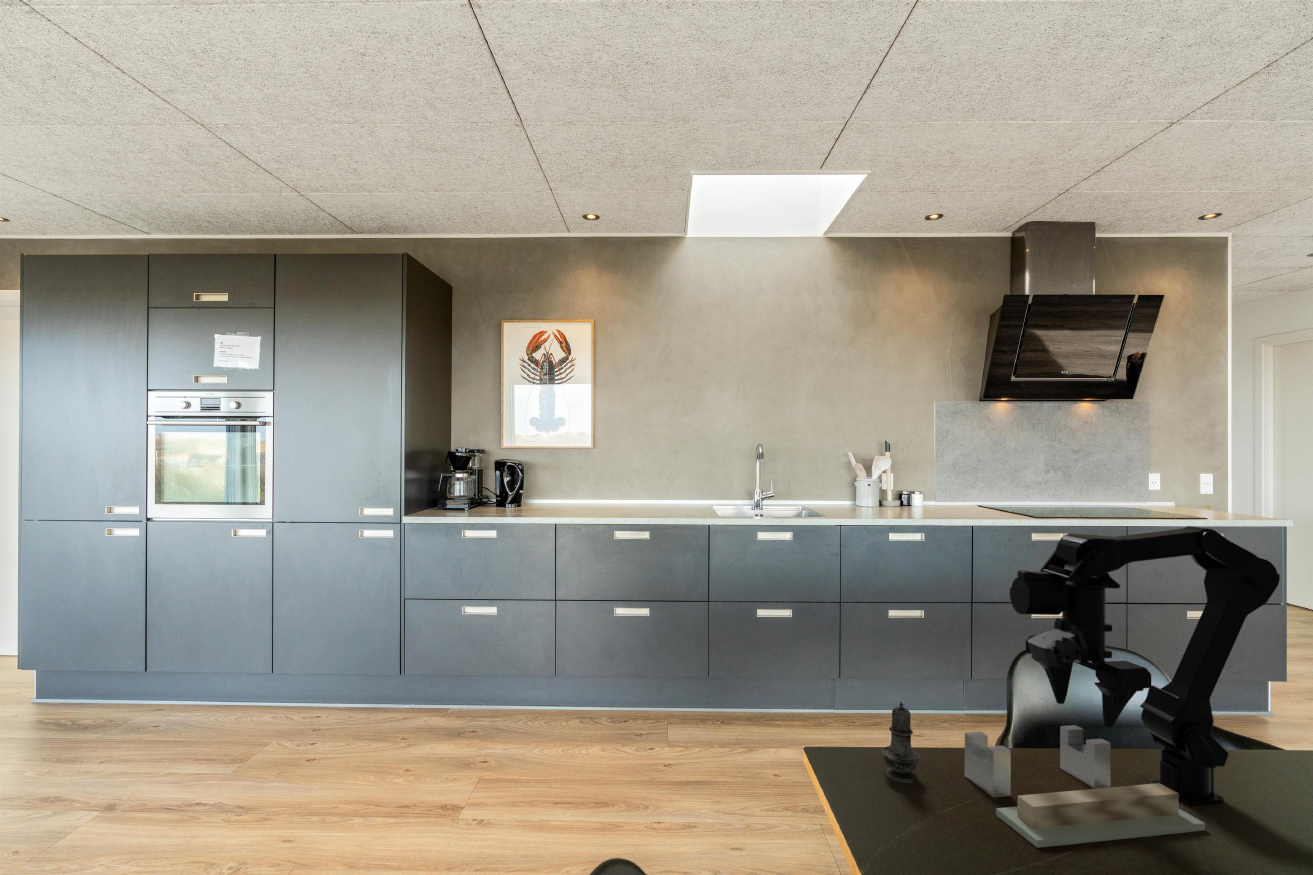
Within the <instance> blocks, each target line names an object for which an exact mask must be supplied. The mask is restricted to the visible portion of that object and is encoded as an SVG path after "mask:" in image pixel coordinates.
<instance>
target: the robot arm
mask: <svg viewBox="0 0 1313 875" xmlns="http://www.w3.org/2000/svg"><path fill="white" fill-rule="evenodd" d="M1185 556H1190V557H1191V559H1192V560H1193V562H1194V563H1195V564H1196V565H1198V566H1199V567H1201V569H1202V570H1204V571H1205V576H1204V579H1203V586H1204V592H1205V595H1206V603H1205V606H1204V609H1203V611H1202V613H1201V615H1200V617H1199V620H1198V622H1197V624H1196V625H1195V628H1194V631H1193V632H1192V634H1191V637H1190V640H1188V641H1189V642H1188V643H1187V645H1186V648H1185V651H1184V652H1183V655H1182V657H1181V659H1180V662H1179V663H1178V666H1177V669H1176V671H1175V673H1174V675H1173V676H1172V679H1171V681H1170V682H1169V683H1168V684H1166V685H1164V686H1163V687H1161V688H1160V687H1158V686H1155V685H1152V673H1151V672H1150V670H1148V668H1147V667H1145V666H1141V665H1139V664H1136V663H1133V662H1131V661H1128V660H1112V661H1111V660H1110V661H1107V660H1105V659H1112V658H1113V651H1111V650H1109V649H1106V633H1109V632H1113V624H1110V623H1107V622H1106V589H1120V588H1121V584H1120V583H1118V582H1117V581H1116V580H1114V579H1113V577H1111V575H1110V573H1111V572H1115V571H1117V570H1120V569H1121V568H1123V567H1124V566H1125V565H1128V564H1132V563H1135V562H1136V563H1137V562H1144V561H1152V560H1153V561H1154V560H1159V559H1160V560H1161V559H1168V558H1169V559H1170V558H1176V557H1177V558H1178V557H1185ZM1280 578H1281V576H1280V574H1279V573H1278V571H1277V568H1276V566H1275V565H1274V564H1273V563H1272V562H1271V561H1269V560H1268V559H1264V558H1261V557H1259V556H1257V555H1256V554H1254V553H1253V552H1251V551H1249V550H1248V549H1246V548H1244V547H1242V546H1240V545H1238V544H1236V543H1235V542H1233V541H1231V540H1229V539H1227V537H1225V536H1223V534H1221V533H1220V532H1217V531H1216V530H1215V529H1212V528H1208V527H1207V528H1205V527H1200V526H1188V525H1187V526H1185V527H1183V528H1175V529H1170V530H1161V531H1160V530H1159V531H1153V532H1143V533H1142V532H1141V533H1135V534H1128V535H1120V536H1118V535H1117V536H1111V535H1109V536H1107V535H1097V534H1083V533H1068V534H1064V535H1062V536H1061V537H1060V540H1059V541H1058V542H1057V544H1056V547H1055V550H1054V551H1053V553H1052V554H1051V556H1049V558H1048V559H1047V560H1046V562H1045V563H1044V565H1043V566H1042V567H1041V568H1040V570H1039V571H1032V570H1027V569H1026V570H1023V569H1020V570H1019V569H1018V570H1017V577H1016V578H1014V580H1013V581H1012V583H1011V587H1010V588H1009V598H1010V603H1011V605H1012V608H1013V609H1014V610H1015V612H1016V613H1017V614H1019V615H1037V616H1038V615H1040V616H1041V615H1042V616H1045V615H1047V616H1049V615H1050V616H1059V615H1060V614H1061V613H1062V616H1061V617H1059V618H1058V617H1056V618H1055V620H1054V623H1053V624H1054V625H1053V629H1051V630H1048V631H1047V630H1046V631H1044V632H1041V633H1039V634H1035V635H1032V634H1031V635H1029V636H1028V637H1027V639H1025V652H1026V653H1028V654H1030V656H1031V657H1030V658H1031V659H1033V661H1036V662H1037V663H1038V664H1039V665H1040V666H1041V667H1042V668H1043V669H1044V671H1045V674H1046V677H1047V679H1048V681H1049V684H1050V687H1051V690H1052V692H1053V696H1054V698H1055V701H1056V702H1055V703H1057V704H1059V705H1064V704H1065V702H1066V699H1067V696H1068V690H1069V685H1070V682H1071V675H1072V671H1073V665H1074V664H1075V663H1076V664H1078V665H1080V666H1083V667H1085V668H1088V669H1090V670H1093V671H1095V678H1096V679H1097V680H1098V682H1097V681H1095V682H1094V685H1095V686H1096V687H1097V689H1098V690H1099V691H1100V693H1101V704H1102V707H1101V708H1102V717H1103V719H1102V720H1103V725H1104V727H1106V728H1112V727H1114V725H1115V723H1116V721H1117V720H1118V719H1119V717H1120V715H1121V714H1122V712H1123V710H1124V709H1125V707H1126V706H1127V705H1128V703H1129V701H1130V700H1131V699H1132V698H1133V697H1134V695H1136V693H1137V692H1143V691H1144V689H1148V690H1147V694H1146V697H1145V699H1144V700H1143V702H1142V703H1141V704H1140V705H1139V707H1140V709H1142V710H1141V715H1140V716H1141V717H1140V719H1141V720H1142V723H1143V725H1144V727H1145V729H1146V730H1147V731H1148V732H1149V735H1150V737H1151V740H1152V742H1154V743H1155V744H1158V745H1160V746H1161V747H1163V748H1164V749H1161V751H1160V752H1161V757H1160V759H1161V760H1159V779H1157V780H1152V781H1151V782H1152V783H1151V784H1155V783H1160V784H1162V785H1164V786H1166V787H1168V788H1169V789H1171V790H1173V791H1175V792H1177V793H1179V800H1180V801H1182V802H1184V803H1186V804H1188V805H1190V806H1191V805H1203V804H1213V803H1215V804H1216V803H1224V802H1225V797H1224V796H1221V795H1219V794H1217V793H1216V792H1214V791H1215V786H1214V785H1215V783H1214V782H1215V780H1214V779H1215V778H1214V777H1215V773H1214V772H1215V770H1214V769H1216V767H1225V766H1226V763H1227V760H1228V757H1229V752H1228V751H1227V750H1226V749H1225V747H1223V746H1222V745H1221V744H1220V742H1218V741H1217V740H1216V739H1215V738H1214V737H1213V736H1212V735H1211V734H1212V729H1213V726H1214V716H1213V711H1212V704H1211V698H1212V695H1213V692H1214V691H1215V689H1216V688H1215V687H1216V686H1217V684H1218V681H1219V679H1220V676H1222V675H1221V674H1222V672H1223V670H1224V669H1225V666H1226V663H1227V661H1228V659H1229V657H1230V654H1231V652H1232V650H1233V648H1234V646H1235V643H1236V641H1237V638H1238V636H1239V634H1240V632H1241V629H1242V628H1243V625H1244V623H1245V621H1246V618H1247V617H1248V616H1249V615H1250V614H1251V613H1253V612H1255V611H1256V610H1258V609H1260V608H1262V606H1264V605H1266V604H1267V603H1268V602H1269V600H1270V598H1271V597H1272V596H1273V594H1274V592H1275V591H1276V589H1278V587H1279V583H1280V580H1281V579H1280Z"/></svg>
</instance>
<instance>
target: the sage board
mask: <svg viewBox="0 0 1313 875" xmlns="http://www.w3.org/2000/svg"><path fill="white" fill-rule="evenodd" d="M995 810H996V811H995V815H996V816H997V817H998V818H999V819H1000V820H1001V821H1003V822H1004V823H1005V824H1006V825H1007V826H1009V827H1011V829H1013V830H1014V831H1015V832H1017V834H1019V835H1020V836H1022V837H1023V838H1024V839H1026V841H1028V842H1029V843H1030V844H1032V845H1033V846H1034V847H1036V849H1037V848H1039V849H1040V848H1049V847H1057V846H1068V845H1078V844H1087V843H1096V842H1105V841H1116V840H1124V839H1125V840H1126V839H1134V838H1144V837H1145V838H1146V837H1154V836H1155V837H1156V836H1163V835H1172V834H1173V835H1174V834H1184V833H1191V832H1201V831H1206V823H1205V822H1203V821H1202V820H1200V819H1198V818H1197V817H1194V816H1192V815H1191V814H1190V813H1188V812H1186V811H1184V810H1182V809H1181V808H1179V814H1177V815H1167V816H1157V817H1147V818H1137V819H1127V820H1117V821H1107V822H1097V823H1087V824H1077V825H1067V826H1056V827H1046V828H1036V829H1033V828H1031V827H1030V826H1029V825H1027V824H1026V823H1025V822H1023V821H1022V820H1021V819H1020V818H1018V817H1017V806H1008V807H998V808H995Z"/></svg>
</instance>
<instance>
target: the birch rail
mask: <svg viewBox="0 0 1313 875" xmlns="http://www.w3.org/2000/svg"><path fill="white" fill-rule="evenodd" d="M1016 797H1017V806H1016V807H1017V817H1018V818H1020V819H1021V820H1022V821H1023V822H1025V823H1026V824H1027V825H1029V826H1030V827H1031V828H1033V829H1036V828H1046V827H1056V826H1067V825H1077V824H1087V823H1097V822H1107V821H1117V820H1127V819H1137V818H1147V817H1157V816H1167V815H1177V814H1179V809H1180V806H1179V803H1180V801H1179V800H1180V799H1179V793H1177V792H1175V791H1173V790H1171V789H1169V788H1168V787H1166V786H1164V785H1162V784H1160V783H1155V784H1152V783H1148V784H1147V783H1145V784H1135V785H1123V786H1111V787H1107V788H1096V789H1094V788H1089V789H1078V790H1067V791H1058V792H1057V791H1055V792H1045V793H1034V794H1023V795H1017V796H1016Z"/></svg>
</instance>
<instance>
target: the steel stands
mask: <svg viewBox="0 0 1313 875" xmlns="http://www.w3.org/2000/svg"><path fill="white" fill-rule="evenodd" d="M1059 729H1060V730H1059V731H1060V732H1059V733H1060V734H1059V750H1060V751H1059V756H1060V757H1059V765H1060V766H1059V767H1060V769H1062V770H1063V771H1065V772H1066V773H1068V774H1070V775H1071V776H1073V777H1074V778H1076V779H1078V780H1080V781H1081V782H1083V783H1084V784H1086V785H1088V786H1089V787H1091V789H1099V788H1110V787H1112V786H1111V778H1112V777H1111V771H1112V770H1111V767H1112V766H1111V760H1112V759H1111V758H1112V757H1111V751H1112V750H1111V745H1112V744H1111V742H1110V741H1107V740H1105V739H1103V738H1093V739H1092V738H1091V739H1090V738H1089V739H1086V740H1085V744H1084V728H1082V727H1081V726H1078V725H1076V724H1075V725H1074V724H1072V725H1061V726H1060V728H1059ZM988 738H989V737H988V735H987V734H986V733H984V732H983V731H971V732H969V731H968V732H967V731H966V732H964V777H966V778H967V779H968V780H970V781H971V782H972V783H973V784H974V785H976V786H977V787H978V788H979V789H981V790H983V791H984V792H985V793H987V795H989V796H991V797H992V798H1001V797H1011V794H1012V793H1011V789H1012V788H1011V778H1012V777H1011V776H1012V775H1011V771H1012V770H1011V766H1012V764H1011V763H1012V760H1011V755H1012V754H1011V753H1012V750H1011V749H1009V747H1007V746H1005V745H994V746H988V740H989V739H988Z"/></svg>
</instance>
